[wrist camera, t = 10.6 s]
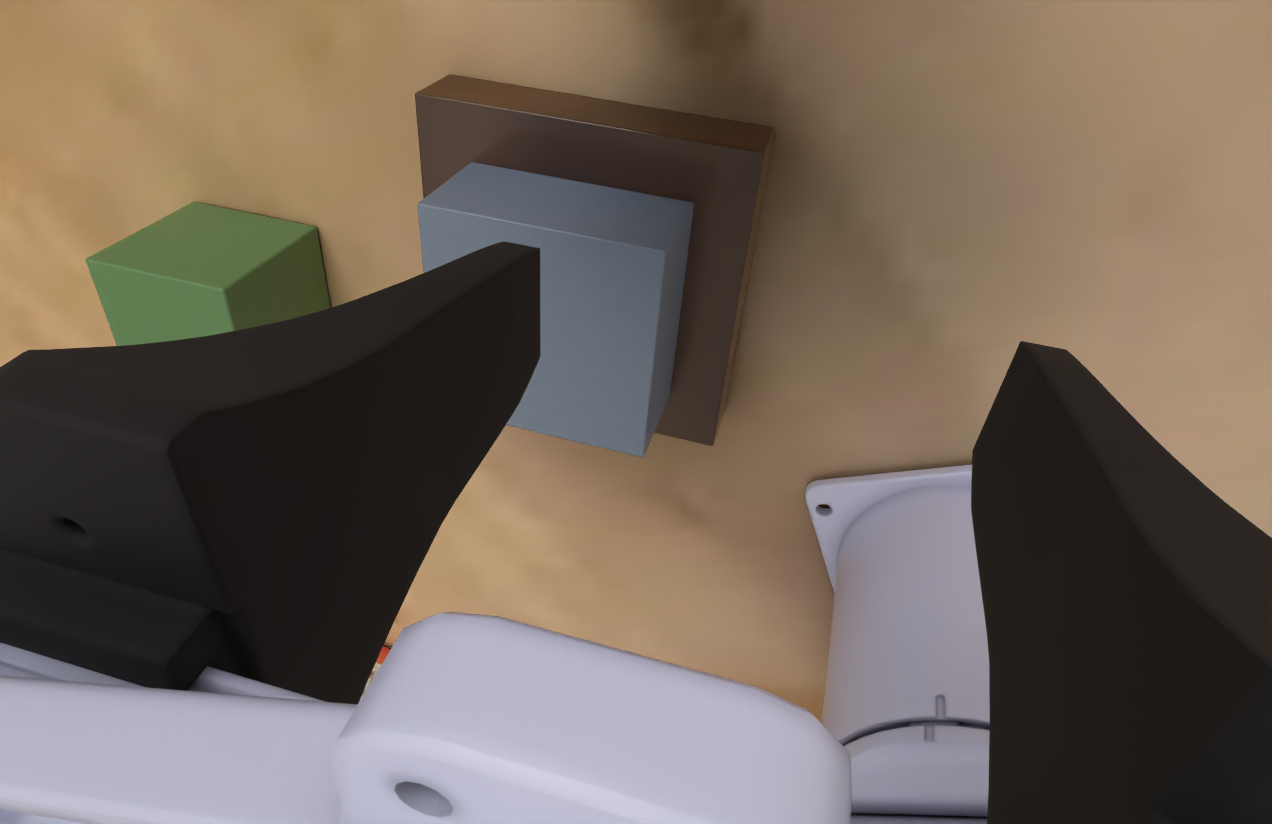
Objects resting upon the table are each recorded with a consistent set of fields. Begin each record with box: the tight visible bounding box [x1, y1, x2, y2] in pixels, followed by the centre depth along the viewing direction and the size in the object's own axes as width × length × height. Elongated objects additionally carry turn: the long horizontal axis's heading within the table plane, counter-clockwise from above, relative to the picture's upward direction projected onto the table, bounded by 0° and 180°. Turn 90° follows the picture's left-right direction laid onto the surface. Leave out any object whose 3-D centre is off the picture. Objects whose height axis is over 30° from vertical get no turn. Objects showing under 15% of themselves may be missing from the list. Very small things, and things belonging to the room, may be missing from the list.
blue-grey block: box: [418, 162, 694, 457], centre depth 21 cm, size 6×6×3 cm
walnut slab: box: [415, 75, 775, 446], centre depth 23 cm, size 9×9×2 cm
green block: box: [86, 202, 330, 346], centre depth 26 cm, size 5×5×5 cm
